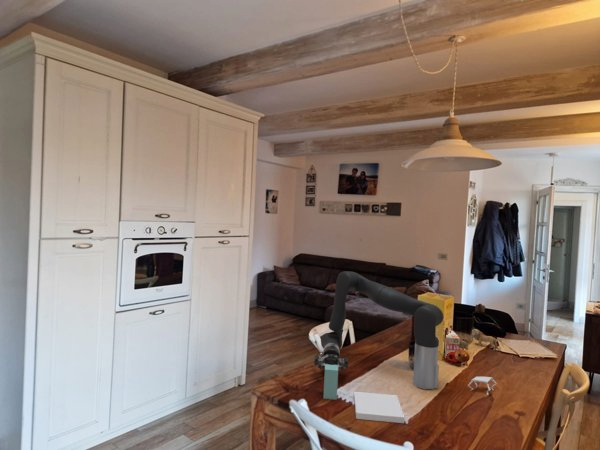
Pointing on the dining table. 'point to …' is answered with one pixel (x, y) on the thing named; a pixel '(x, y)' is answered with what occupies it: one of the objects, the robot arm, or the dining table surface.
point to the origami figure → (484, 380)
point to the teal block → (330, 382)
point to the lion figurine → (483, 338)
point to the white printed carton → (451, 343)
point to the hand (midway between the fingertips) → (331, 367)
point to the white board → (378, 407)
